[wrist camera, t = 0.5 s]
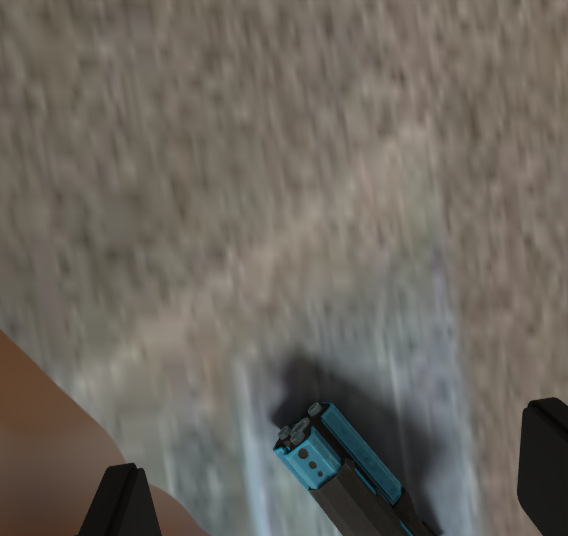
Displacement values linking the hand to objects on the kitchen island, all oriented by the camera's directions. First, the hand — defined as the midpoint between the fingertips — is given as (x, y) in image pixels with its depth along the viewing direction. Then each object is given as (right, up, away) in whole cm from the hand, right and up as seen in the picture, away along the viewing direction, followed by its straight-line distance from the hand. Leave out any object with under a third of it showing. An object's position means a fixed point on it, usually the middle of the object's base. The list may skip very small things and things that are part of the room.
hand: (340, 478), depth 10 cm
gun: (+8, -19, +38) cm, 43 cm away
